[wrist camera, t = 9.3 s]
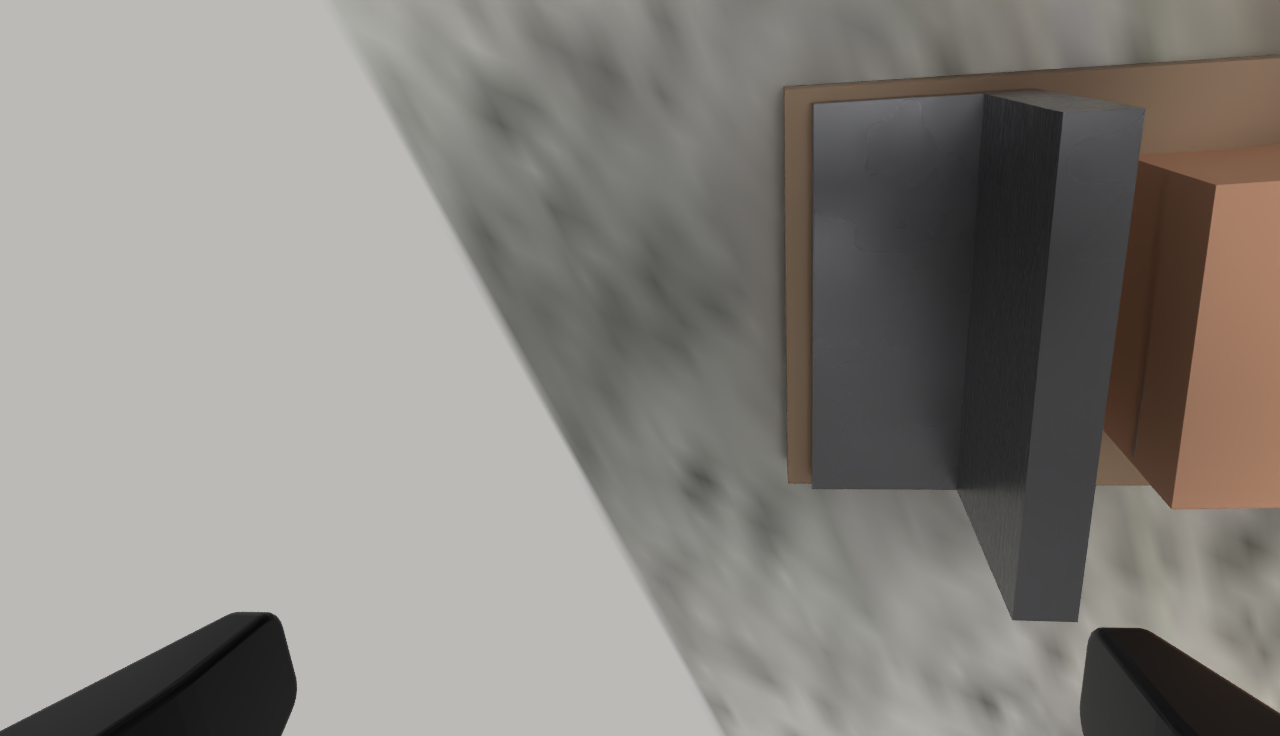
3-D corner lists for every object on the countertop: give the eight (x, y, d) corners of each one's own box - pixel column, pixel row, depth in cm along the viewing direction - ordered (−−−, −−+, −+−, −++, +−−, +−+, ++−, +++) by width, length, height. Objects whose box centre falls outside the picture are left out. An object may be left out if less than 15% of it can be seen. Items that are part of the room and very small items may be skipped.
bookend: (1033, 88, 16) (1146, 108, 11) (999, 476, 18) (1077, 622, 14) (811, 101, 16) (829, 126, 12) (810, 475, 19) (825, 615, 14)
